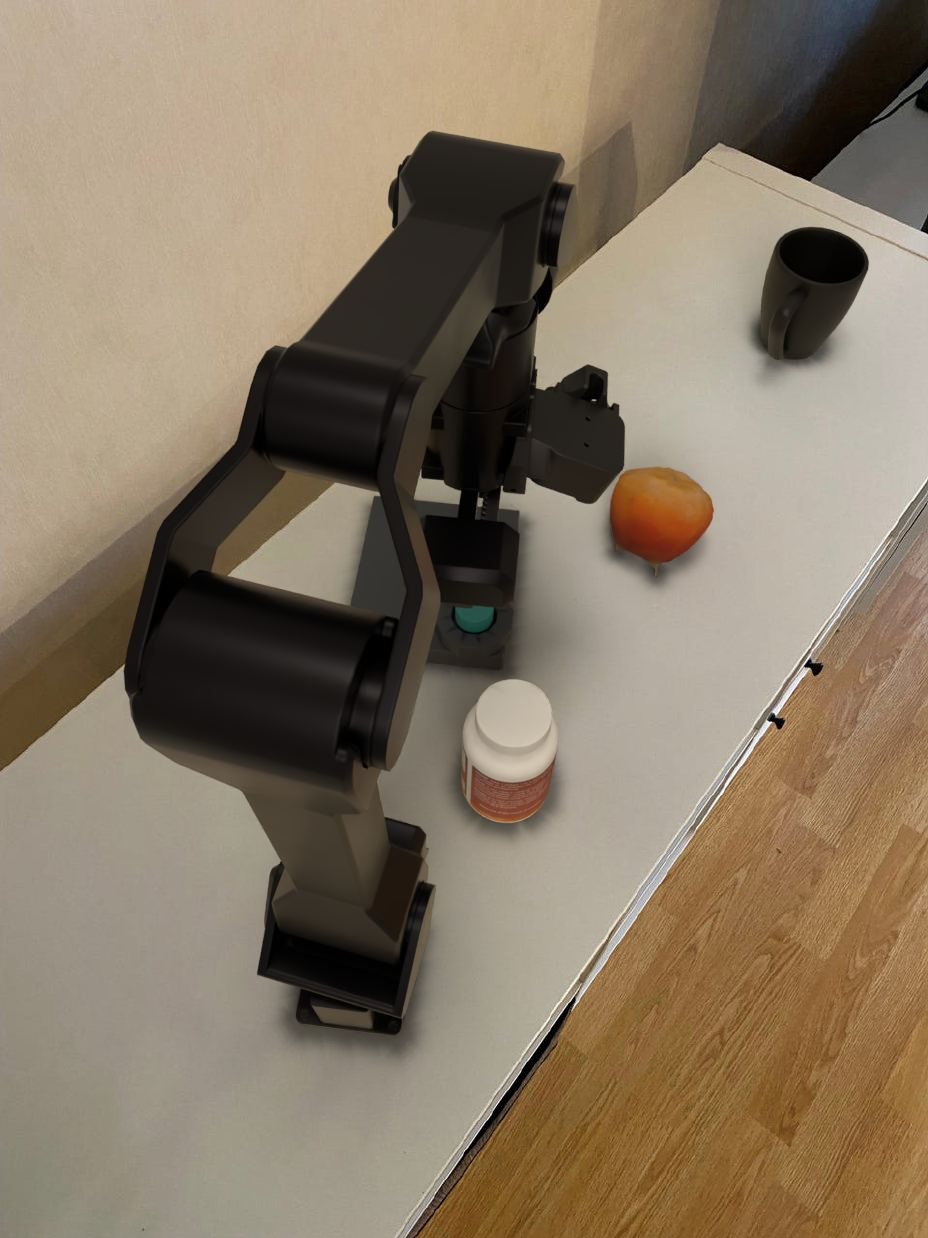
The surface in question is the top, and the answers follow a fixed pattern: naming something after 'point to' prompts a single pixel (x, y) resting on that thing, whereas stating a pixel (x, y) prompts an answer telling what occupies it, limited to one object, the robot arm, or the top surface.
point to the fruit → (658, 513)
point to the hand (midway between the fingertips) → (470, 548)
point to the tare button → (474, 618)
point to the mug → (809, 289)
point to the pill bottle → (509, 751)
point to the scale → (449, 642)
